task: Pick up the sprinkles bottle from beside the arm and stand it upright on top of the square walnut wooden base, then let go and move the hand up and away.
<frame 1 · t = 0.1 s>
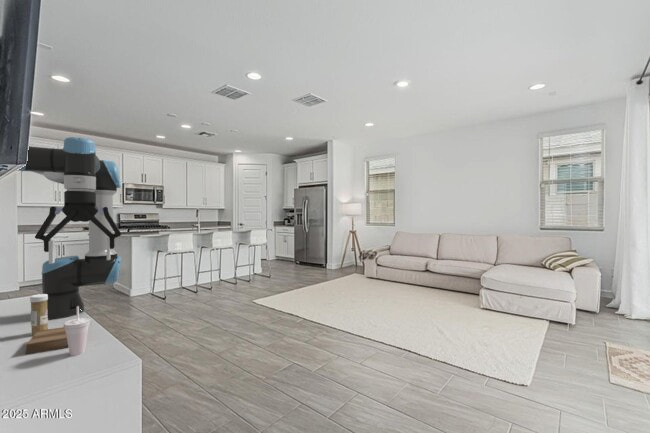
hand: (81, 261, 94), 28 cm above the table, tool pointing down, fingers open, 13 cm apart
smoothie: (77, 353, 95), on the table
walnut base: (56, 342, 102), on the table
sprinkles bottle: (39, 333, 110), on the table
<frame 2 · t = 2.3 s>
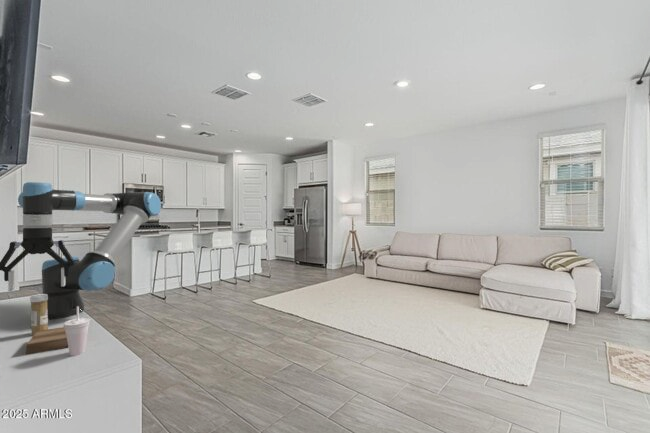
hand: (38, 288, 109), 16 cm above the table, tool pointing down, fingers open, 13 cm apart
nothing on the table moved.
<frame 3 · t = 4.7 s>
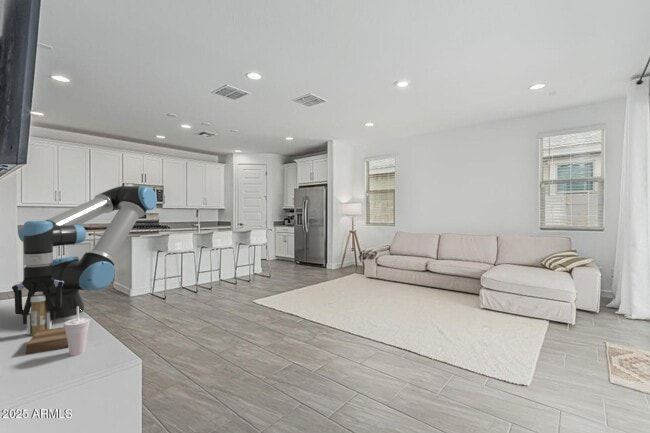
hand: (39, 331, 110), 1 cm above the table, tool pointing down, fingers closed on sprinkles bottle, 4 cm apart
sprinkles bottle: (39, 333, 110), on the table, touching gripper
everything else where it was.
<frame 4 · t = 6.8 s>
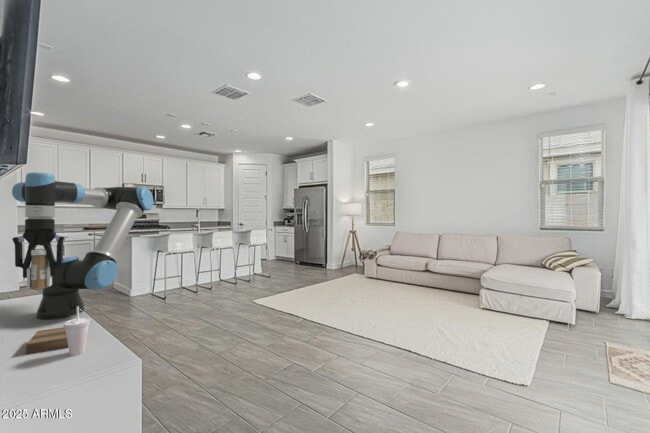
hand: (39, 286, 107), 17 cm above the table, tool pointing down, fingers closed on sprinkles bottle, 4 cm apart
sprinkles bottle: (39, 289, 107), point 16 cm above the table, touching gripper
everything else where it was.
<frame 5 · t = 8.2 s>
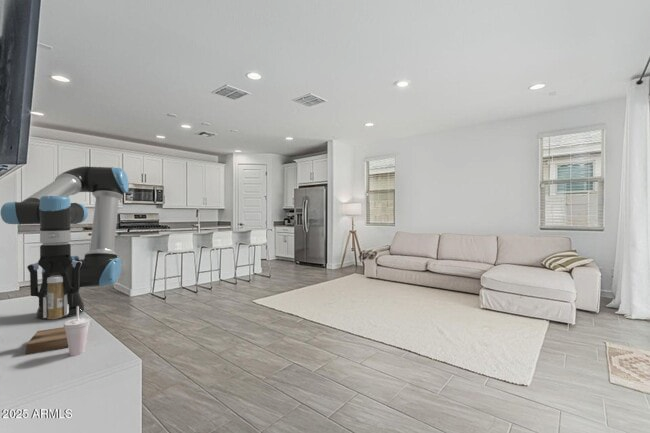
hand: (56, 315, 102), 9 cm above the table, tool pointing down, fingers closed on sprinkles bottle, 4 cm apart
sprinkles bottle: (56, 317, 102), point 8 cm above the table, touching gripper
everything else where it was.
when the fingers open (5 cm above the table, at t = 9.3 s): sprinkles bottle drops 1 cm, resting on walnut base.
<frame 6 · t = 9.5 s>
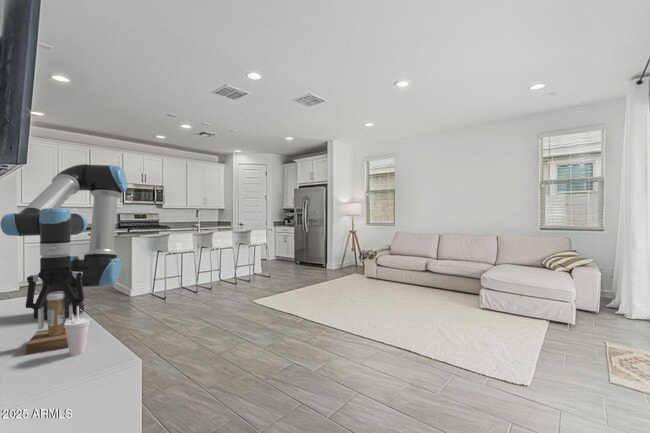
hand: (56, 325, 102), 6 cm above the table, tool pointing down, fingers open, 7 cm apart
sprinkles bottle: (56, 334, 102), point 3 cm above the table, touching walnut base
everything else where it was.
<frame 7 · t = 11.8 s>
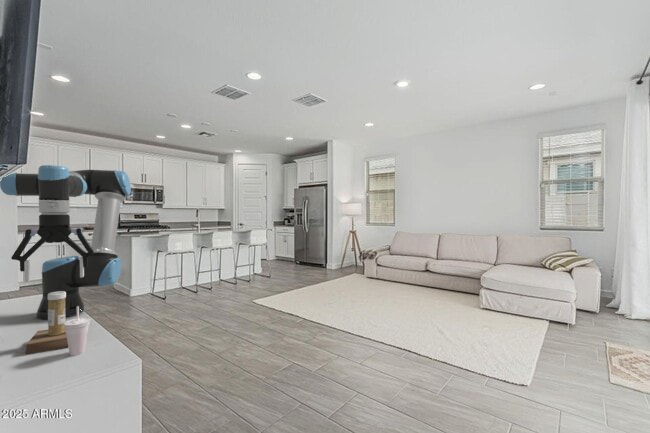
hand: (55, 279, 102), 21 cm above the table, tool pointing down, fingers open, 13 cm apart
nothing on the table moved.
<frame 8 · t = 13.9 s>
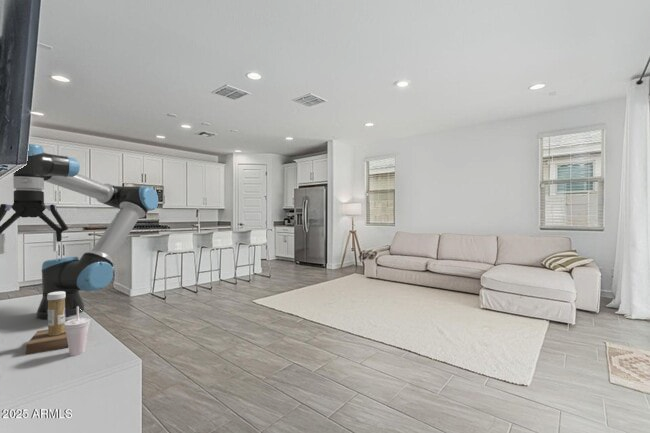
hand: (29, 252, 107), 29 cm above the table, tool pointing down, fingers open, 13 cm apart
nothing on the table moved.
at the end: sprinkles bottle inside the target area on the walnut base (0.0 cm from its centre), point 2.8 cm above the walnut base's base; sprinkles bottle tilted 1°; the gripper is holding nothing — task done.
